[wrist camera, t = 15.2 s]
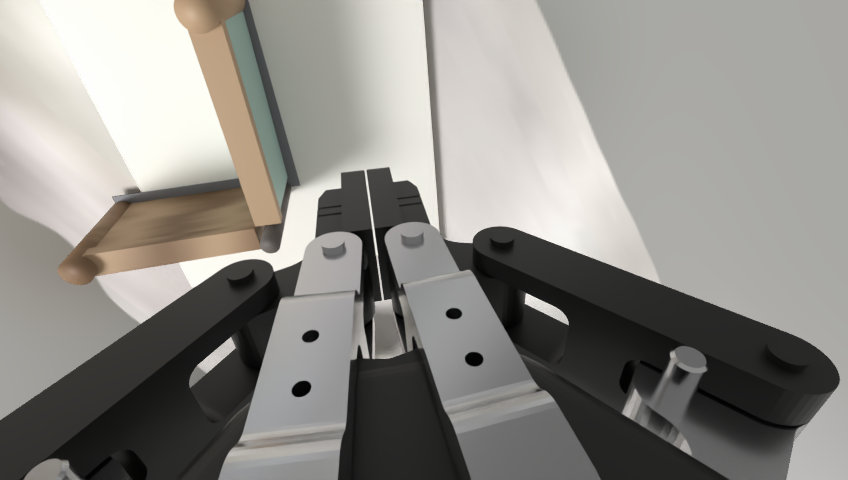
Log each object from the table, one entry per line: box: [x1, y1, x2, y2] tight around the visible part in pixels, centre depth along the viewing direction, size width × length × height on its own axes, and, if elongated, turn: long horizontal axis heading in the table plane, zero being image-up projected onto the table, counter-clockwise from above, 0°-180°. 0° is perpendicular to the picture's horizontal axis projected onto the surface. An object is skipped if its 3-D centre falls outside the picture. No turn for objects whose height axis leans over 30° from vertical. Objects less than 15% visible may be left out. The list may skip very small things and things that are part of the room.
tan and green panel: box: [174, 0, 288, 227], centre depth 25 cm, size 13×2×7 cm, turn 3°
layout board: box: [39, 0, 440, 287], centre depth 30 cm, size 24×24×1 cm
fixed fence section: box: [58, 182, 292, 285], centre depth 29 cm, size 13×2×8 cm, turn 95°
